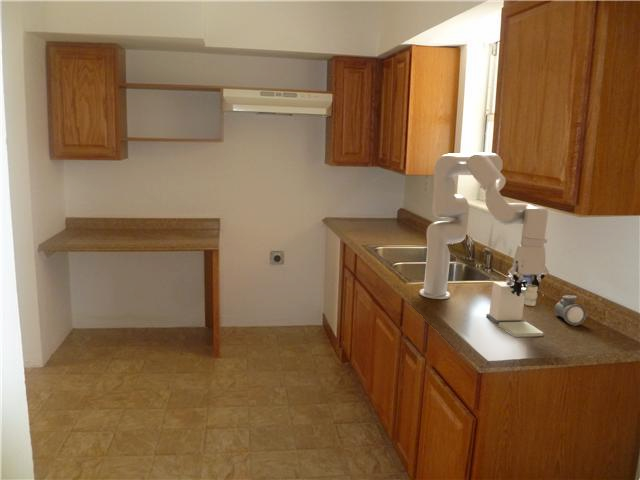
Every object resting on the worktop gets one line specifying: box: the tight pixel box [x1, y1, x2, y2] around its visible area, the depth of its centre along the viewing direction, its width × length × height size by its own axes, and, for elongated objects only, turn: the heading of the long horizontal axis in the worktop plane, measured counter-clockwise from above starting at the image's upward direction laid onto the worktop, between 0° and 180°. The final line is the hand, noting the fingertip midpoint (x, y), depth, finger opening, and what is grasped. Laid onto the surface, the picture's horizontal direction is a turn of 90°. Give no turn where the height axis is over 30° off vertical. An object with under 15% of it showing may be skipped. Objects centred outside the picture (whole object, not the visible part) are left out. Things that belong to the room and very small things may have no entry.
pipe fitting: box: [553, 294, 587, 327], centre depth 213 cm, size 12×8×10 cm, turn 3°
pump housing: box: [485, 274, 525, 326], centre depth 208 cm, size 8×11×17 cm
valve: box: [510, 280, 539, 306], centre depth 196 cm, size 7×7×12 cm
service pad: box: [498, 321, 545, 338], centre depth 199 cm, size 11×11×1 cm
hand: (525, 291), depth 196 cm, fingers closed on valve, 5 cm apart
